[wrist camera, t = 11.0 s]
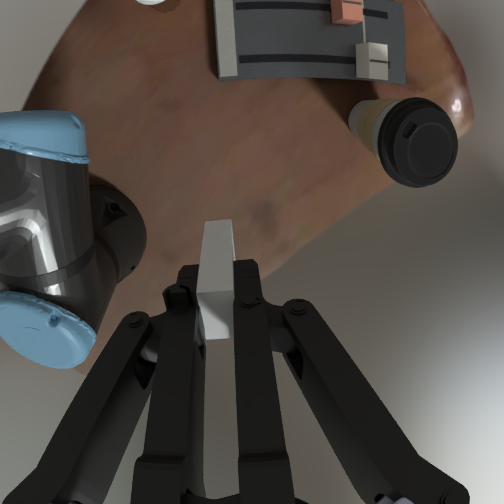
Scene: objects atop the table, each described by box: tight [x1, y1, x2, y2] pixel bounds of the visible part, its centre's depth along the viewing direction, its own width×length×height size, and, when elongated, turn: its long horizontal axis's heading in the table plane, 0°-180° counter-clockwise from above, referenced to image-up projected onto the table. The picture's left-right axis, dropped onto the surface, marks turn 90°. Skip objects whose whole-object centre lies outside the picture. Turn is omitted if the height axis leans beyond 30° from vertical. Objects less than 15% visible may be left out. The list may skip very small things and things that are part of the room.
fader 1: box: [331, 0, 363, 25], centre depth 27 cm, size 2×4×4 cm, turn 3°
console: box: [213, 0, 406, 85], centre depth 31 cm, size 24×12×2 cm, turn 93°
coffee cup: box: [348, 97, 458, 188], centre depth 32 cm, size 9×9×15 cm
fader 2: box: [356, 42, 388, 80], centre depth 31 cm, size 2×4×4 cm, turn 4°
